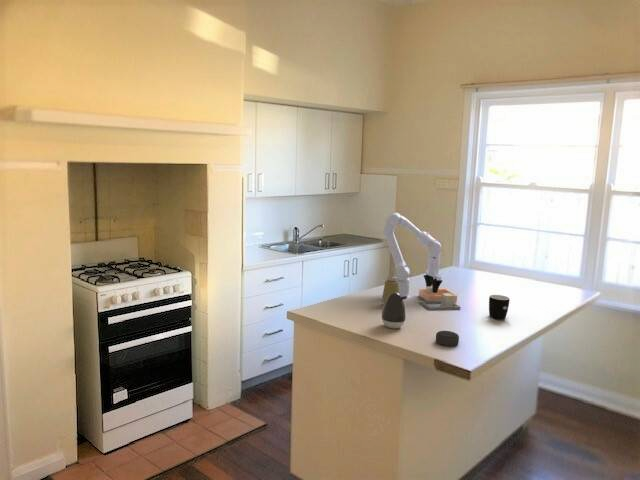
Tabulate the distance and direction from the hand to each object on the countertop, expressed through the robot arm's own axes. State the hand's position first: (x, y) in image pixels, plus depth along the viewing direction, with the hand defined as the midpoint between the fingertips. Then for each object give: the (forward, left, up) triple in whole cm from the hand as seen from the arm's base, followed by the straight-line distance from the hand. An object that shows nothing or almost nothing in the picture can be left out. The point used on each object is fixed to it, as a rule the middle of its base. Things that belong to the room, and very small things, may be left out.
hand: (431, 290), depth 276 cm
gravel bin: (+4, 0, -5) cm, 6 cm away
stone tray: (-1, -14, -5) cm, 15 cm away
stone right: (+2, -14, -4) cm, 15 cm away
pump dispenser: (-35, -41, -5) cm, 54 cm away
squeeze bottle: (-25, -9, -5) cm, 28 cm away
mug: (+21, -31, -5) cm, 38 cm away
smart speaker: (-20, -62, -5) cm, 66 cm away
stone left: (0, 0, -4) cm, 4 cm away
